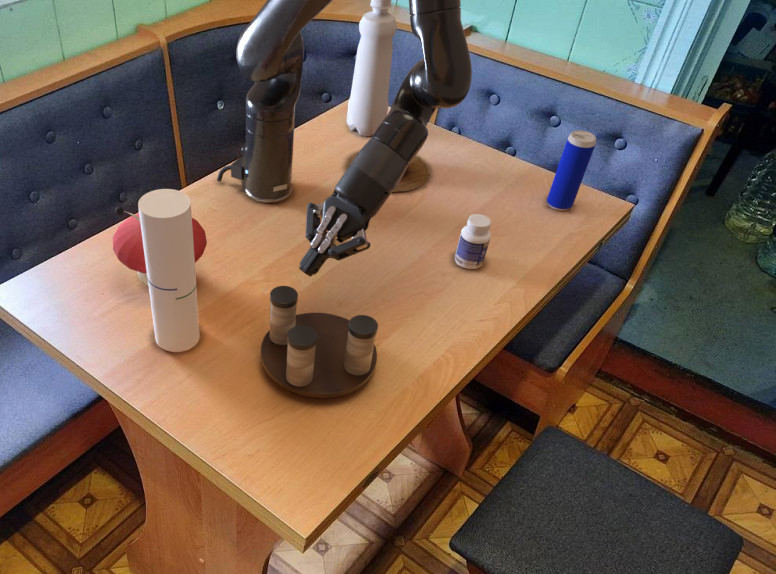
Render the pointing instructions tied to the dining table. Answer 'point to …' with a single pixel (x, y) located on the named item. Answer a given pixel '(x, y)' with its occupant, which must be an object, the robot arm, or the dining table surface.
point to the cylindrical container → (170, 267)
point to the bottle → (372, 70)
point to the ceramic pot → (408, 175)
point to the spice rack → (317, 348)
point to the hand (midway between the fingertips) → (304, 272)
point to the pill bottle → (473, 242)
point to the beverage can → (571, 170)
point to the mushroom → (131, 243)
